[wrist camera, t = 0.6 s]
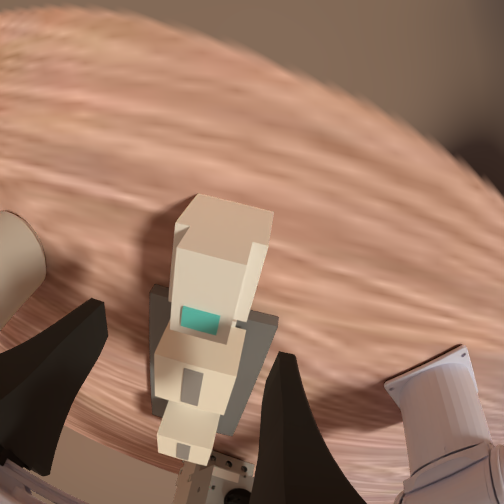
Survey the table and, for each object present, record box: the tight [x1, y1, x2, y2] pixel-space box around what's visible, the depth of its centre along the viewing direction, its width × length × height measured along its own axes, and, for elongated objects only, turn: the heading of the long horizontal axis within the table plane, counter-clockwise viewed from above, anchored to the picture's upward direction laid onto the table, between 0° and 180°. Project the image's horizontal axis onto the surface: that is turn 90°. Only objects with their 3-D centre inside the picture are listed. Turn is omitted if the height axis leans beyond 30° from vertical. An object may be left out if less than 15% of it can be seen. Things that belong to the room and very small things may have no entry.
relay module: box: [168, 193, 274, 345], centre depth 17 cm, size 5×4×6 cm
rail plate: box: [149, 284, 279, 466], centre depth 24 cm, size 18×9×6 cm, turn 168°
